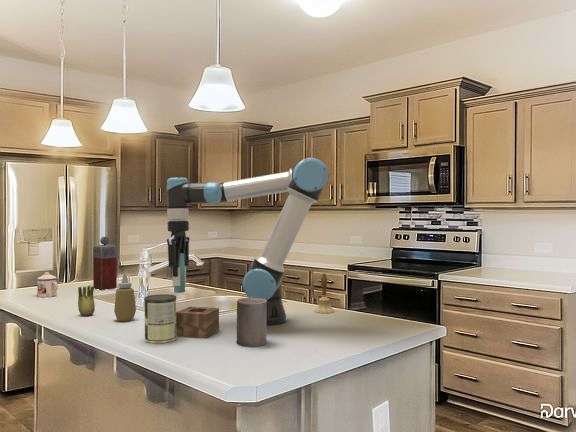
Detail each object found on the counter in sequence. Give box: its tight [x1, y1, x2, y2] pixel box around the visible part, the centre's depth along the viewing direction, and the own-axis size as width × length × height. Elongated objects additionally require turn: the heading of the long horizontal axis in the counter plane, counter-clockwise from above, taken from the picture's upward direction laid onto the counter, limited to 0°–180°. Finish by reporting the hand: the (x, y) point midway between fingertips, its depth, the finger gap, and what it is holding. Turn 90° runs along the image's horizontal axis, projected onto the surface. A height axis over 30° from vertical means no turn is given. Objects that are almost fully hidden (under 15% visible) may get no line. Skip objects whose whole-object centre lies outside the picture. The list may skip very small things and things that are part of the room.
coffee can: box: [143, 293, 177, 344], centre depth 170 cm, size 10×10×14 cm
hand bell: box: [314, 273, 335, 314], centre depth 217 cm, size 8×8×16 cm
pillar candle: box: [235, 296, 267, 348], centre depth 166 cm, size 10×10×15 cm
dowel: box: [173, 253, 186, 294], centre depth 188 cm, size 4×4×14 cm
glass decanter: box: [92, 236, 118, 291], centre depth 279 cm, size 9×11×28 cm
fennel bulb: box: [77, 285, 96, 317], centre depth 208 cm, size 6×5×12 cm
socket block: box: [176, 306, 220, 339], centre depth 179 cm, size 11×11×8 cm
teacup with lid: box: [36, 271, 59, 298], centre depth 254 cm, size 12×9×12 cm
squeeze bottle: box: [113, 273, 137, 322], centre depth 199 cm, size 8×8×18 cm
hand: (179, 284), depth 188 cm, fingers closed on dowel, 4 cm apart
